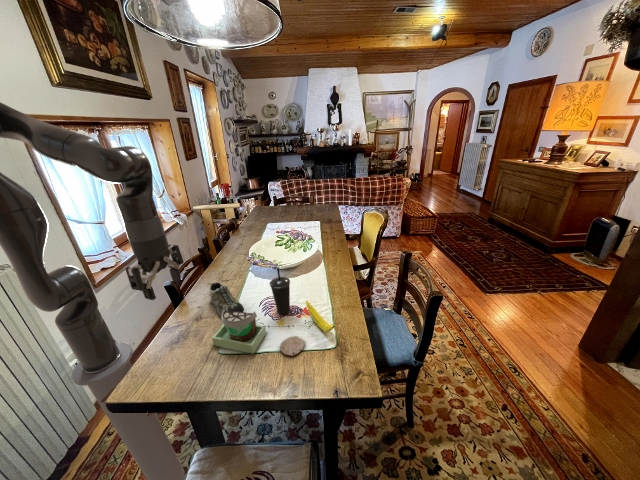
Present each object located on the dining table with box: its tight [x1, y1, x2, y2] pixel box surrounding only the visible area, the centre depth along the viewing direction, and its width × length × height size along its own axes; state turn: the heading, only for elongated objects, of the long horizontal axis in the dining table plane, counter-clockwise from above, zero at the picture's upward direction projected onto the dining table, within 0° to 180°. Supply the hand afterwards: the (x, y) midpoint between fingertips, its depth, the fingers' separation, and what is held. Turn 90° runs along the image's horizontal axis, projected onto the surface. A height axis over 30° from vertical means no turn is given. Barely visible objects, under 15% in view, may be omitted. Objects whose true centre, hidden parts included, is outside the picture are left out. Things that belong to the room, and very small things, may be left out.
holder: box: [211, 323, 267, 355], centre depth 87 cm, size 15×9×4 cm, turn 75°
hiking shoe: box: [209, 282, 245, 318], centre depth 102 cm, size 8×21×9 cm, turn 47°
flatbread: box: [279, 335, 305, 357], centre depth 84 cm, size 8×8×1 cm
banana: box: [305, 300, 336, 332], centre depth 92 cm, size 3×19×6 cm, turn 32°
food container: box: [220, 309, 258, 342], centre depth 86 cm, size 12×6×10 cm, turn 81°
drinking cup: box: [269, 266, 291, 316], centre depth 96 cm, size 8×8×20 cm
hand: (165, 289), depth 68 cm, fingers open, 8 cm apart
